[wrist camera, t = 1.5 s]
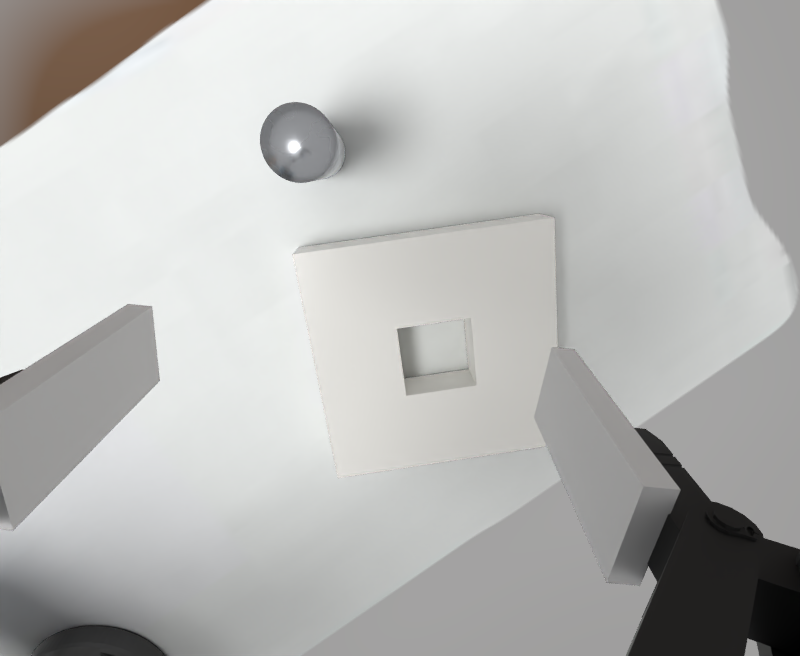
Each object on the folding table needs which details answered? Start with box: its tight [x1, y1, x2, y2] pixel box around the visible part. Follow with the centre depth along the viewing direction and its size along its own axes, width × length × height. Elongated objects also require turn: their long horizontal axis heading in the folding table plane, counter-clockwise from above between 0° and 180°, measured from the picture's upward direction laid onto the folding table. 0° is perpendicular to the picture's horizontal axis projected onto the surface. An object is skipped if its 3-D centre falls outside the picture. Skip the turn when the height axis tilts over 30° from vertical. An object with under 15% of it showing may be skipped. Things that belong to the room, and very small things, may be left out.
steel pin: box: [260, 102, 345, 183], centre depth 31 cm, size 4×4×12 cm
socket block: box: [292, 214, 558, 478], centre depth 41 cm, size 20×20×4 cm
